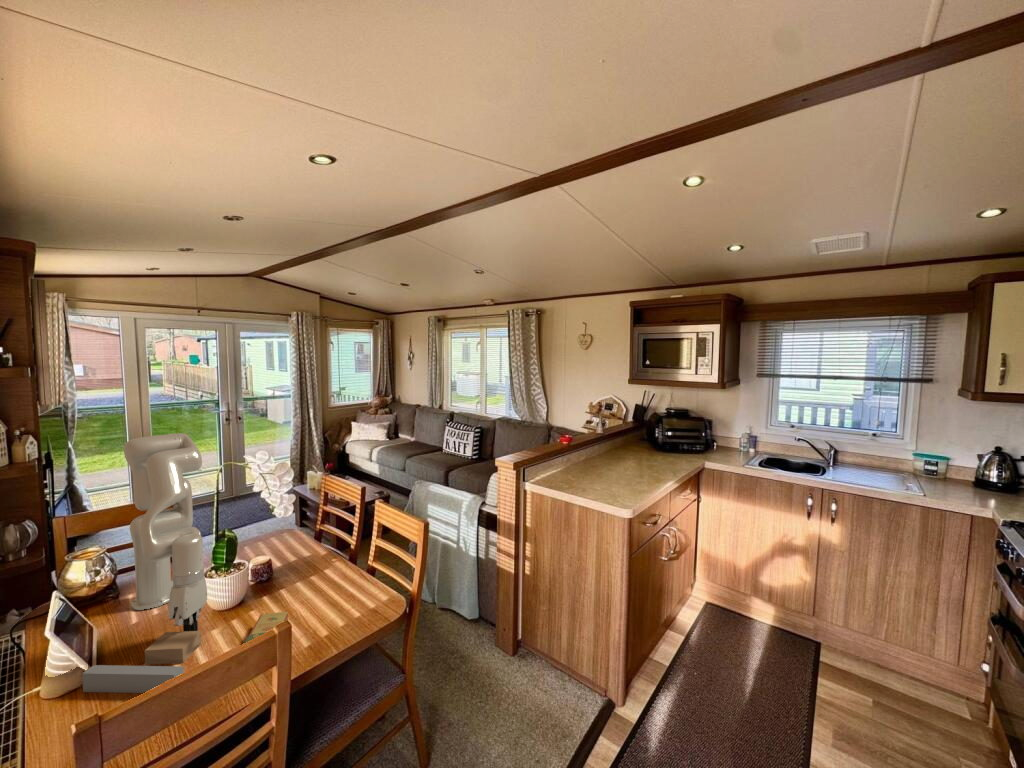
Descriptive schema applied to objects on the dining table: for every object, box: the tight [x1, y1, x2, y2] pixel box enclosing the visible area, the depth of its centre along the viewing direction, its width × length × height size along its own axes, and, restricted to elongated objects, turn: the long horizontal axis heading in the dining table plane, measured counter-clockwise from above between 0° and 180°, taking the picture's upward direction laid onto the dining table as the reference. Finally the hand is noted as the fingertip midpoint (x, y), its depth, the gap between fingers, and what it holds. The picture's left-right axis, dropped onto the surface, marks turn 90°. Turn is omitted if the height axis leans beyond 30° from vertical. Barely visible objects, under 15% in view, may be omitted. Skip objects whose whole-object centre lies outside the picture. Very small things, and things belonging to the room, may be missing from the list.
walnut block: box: [144, 630, 202, 666], centre depth 124 cm, size 8×10×4 cm
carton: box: [244, 611, 289, 643], centre depth 131 cm, size 8×16×4 cm, turn 14°
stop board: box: [81, 664, 185, 694], centre depth 111 cm, size 3×24×5 cm, turn 89°
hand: (190, 634), depth 131 cm, fingers closed
